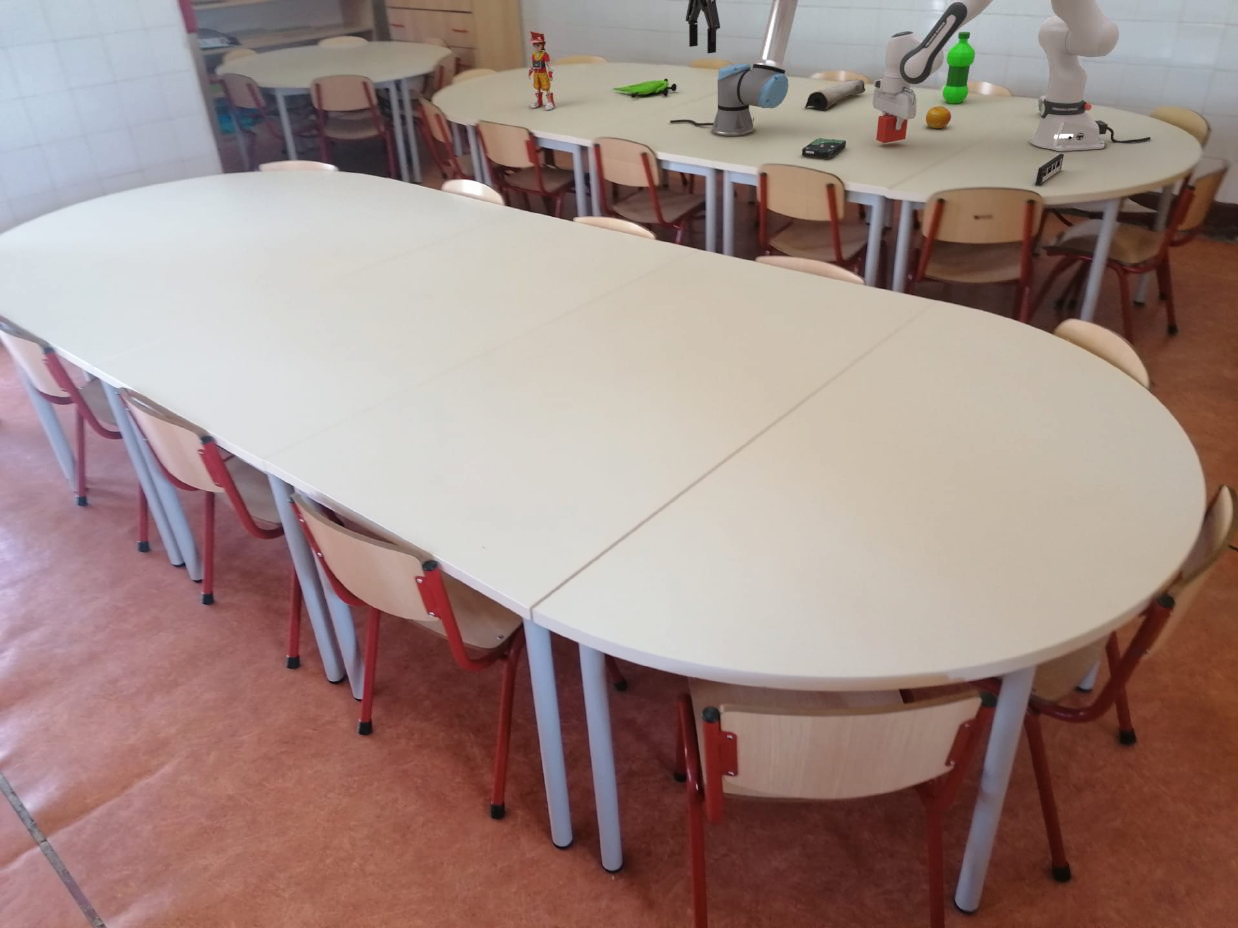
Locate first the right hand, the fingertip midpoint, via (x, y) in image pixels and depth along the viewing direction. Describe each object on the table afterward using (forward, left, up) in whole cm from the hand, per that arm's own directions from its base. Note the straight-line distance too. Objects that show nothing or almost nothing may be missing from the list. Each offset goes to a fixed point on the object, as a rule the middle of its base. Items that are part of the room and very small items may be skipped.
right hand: (892, 127), depth 308 cm
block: (0, 0, -4) cm, 4 cm away
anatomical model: (-61, -34, -6) cm, 70 cm away
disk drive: (+23, +9, -6) cm, 25 cm away
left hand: (+64, +14, +29) cm, 72 cm away
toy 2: (+99, -87, -6) cm, 132 cm away
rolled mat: (+16, -63, -6) cm, 65 cm away
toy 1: (+138, -62, -6) cm, 152 cm away
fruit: (-18, -22, -6) cm, 29 cm away
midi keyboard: (-44, +37, -6) cm, 58 cm away
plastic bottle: (-30, -59, -6) cm, 66 cm away
